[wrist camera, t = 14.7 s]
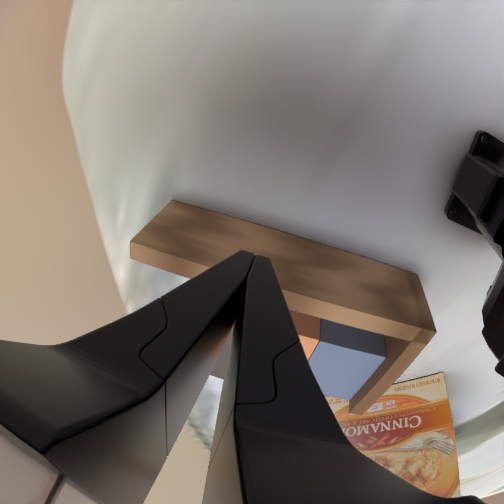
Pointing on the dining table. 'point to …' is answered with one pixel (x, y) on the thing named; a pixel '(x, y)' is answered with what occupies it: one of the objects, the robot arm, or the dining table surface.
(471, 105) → the dining table surface
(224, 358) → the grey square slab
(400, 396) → the coffeecake box
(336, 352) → the blue-grey plain cube block
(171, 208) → the shelf
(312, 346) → the salmon rectangular block
